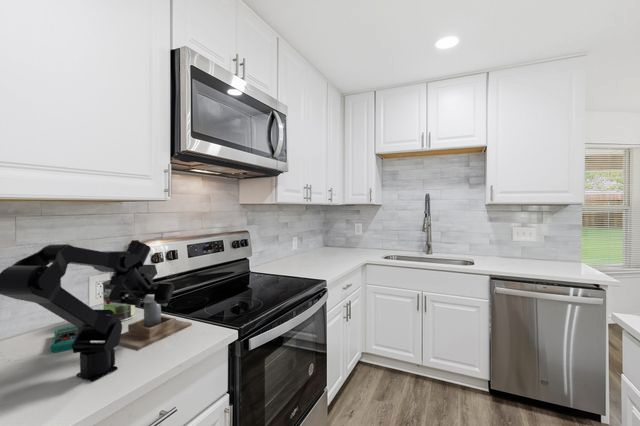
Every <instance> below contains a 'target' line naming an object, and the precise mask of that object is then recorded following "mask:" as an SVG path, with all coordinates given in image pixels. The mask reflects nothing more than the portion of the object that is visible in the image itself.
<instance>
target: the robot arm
mask: <svg viewBox="0 0 640 426" xmlns="http://www.w3.org/2000/svg"><path fill="white" fill-rule="evenodd" d="M150 252H151V247H150V246H149V245H148V244H146V243H144V242H140V240H137V239H136V240H131V241H130V243H129V245H128V248H127V249H126V250H121V251H120V250H119V251H118V250H117V251H116V250H105V251H102V250H100V251H99V250H96V249H89V248H83V247H77V246H74V245H71V244H66V243H65V244H63V243H62V244H61V243H60V244H49V245H46V246H44V247H43V248H41V249H40V250H39V251H37V252H34V253H33V254H31V255H28V256H26V257H24V258H22V259H20V260H18V261H16V262H15V263H14V264H12V265H11V266H8V267H6V268H5V269H3V270H1V272H0V295H1V296H5V297H8V298H11V299H14V300H18V301H19V300H20V301H24V302H31V303H34V304H37V305H39V306H40V307H43V308H44V309H46V310H47V311H49V312H51V313H52V314H54V315H56V316H58V317H59V318H61V319H63V320H65V321H66V322H68V323H70V324H71V325H73V326H76V327H77V333H78V335H77V337H76V339H75V341H74V342H73V344H72V346H71V348H72V349H71V350H72V352H73V354H77V353H79V372H77V373H76V375H75V376H76V377H77V378H80V379H83V380H86V381H89V382H94V381H96V380H98V379H101V378H102V377H103V378H104V377H105V376H106V375H108V374H111V373H112V372H114V371H117V370H118V369H119V366H117V365H116V350H115V349H116V348H117V347H118V346H119V345H120V344H119V341H120V336H121V334H122V331H123V324H122V321H121V320H120V319H119V318H118V317H119V315H116V314H115V313H114V312H113V311H112V310H104V309H94V308H92V307H91V306H89V305H88V304H86V303H85V302H83V301H82V300H80V299H79V298H78V297H76V296H75V295H73V294H72V293H71V292H70V291H68V290H66V289H64V288H63V286H62V278H63V277H64V276H65V274H66V272H67V269H68V265H78V266H79V265H80V266H87V267H91V268H93V270H96V271H99V272H102V273H112V276H111V277H110V279H109V280H110V284H109V285H114V287H113V289H112V290H111V292H110V294H109V300H110V301H111V302H112V303H120V304H127V305H134V306H135V307H141V305H142V303H141V301H140V300H144V298H145V296H146V295H154V301H155V302H157V304H159V305H161V306H163V307H167V306H168V304H169V302H170V301H171V299H172V296H173V294H174V291H175V288H176V286H175V284H174V283H173V282H160V283H158V286H152V285H153V284H154V281H153V280H154V278H155V276H156V275H158V270H157V267H156V264H145V262H146V261H147V258H148V256H149V254H150ZM92 341H93V342H92ZM94 341H95V342H94ZM100 341H101V342H100Z"/></svg>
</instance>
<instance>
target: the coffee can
mask: <svg viewBox="0 0 640 426" xmlns="http://www.w3.org/2000/svg"><path fill="white" fill-rule="evenodd" d="M110 280H111V279H108V280H105V281H103V282H102V290H103V291H102V294H103V296H102V298H103V302H102V303H103V310H112V311H113V312H114V313H115V314H116V315H119V317H118V318H119V319H120V320H121V322H126V321H129V320H131V319H133V318H135V317H136V306H134V305H127V304H120V303H112V302H111V301H110V300H109V294H110V292H111V290H112V289H113V287H114V285H109V284H110ZM134 316H135V317H134Z"/></svg>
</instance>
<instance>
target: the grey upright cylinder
mask: <svg viewBox="0 0 640 426" xmlns="http://www.w3.org/2000/svg"><path fill="white" fill-rule="evenodd" d="M161 306H162V305H159V304H157V302H155V301H154V295H146V296H145V298H144V299H143V319H144V327H149V328H151V327H153V326H156V325H158V324H161V316H162V307H161Z"/></svg>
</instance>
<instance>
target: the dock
mask: <svg viewBox="0 0 640 426" xmlns="http://www.w3.org/2000/svg"><path fill="white" fill-rule="evenodd" d="M192 325H193V323H192V322H190V321H189V322H188V321H184V320H179V319H177V318H176V317H169V316H164V315H161V324H158V325H156V326H153V327H151V328H149V327H144V318H142V319H139V320H137V321H134V322H131V323H129V324H127V329H128V331H124V332H123V333H121V336H120V341H119V345H121V346H125V347H129V348H131V349H137V350H138V351H139V350H142V349H144V348H146V347H148V346H151V345H152V344H154V343H157V342H158V341H159V342H160V341H161V340H163V339H165V338H168V337H169V336H172V335H173V334H176V333H178V332H181V331H182V330H186V328H188V327H191V326H192Z"/></svg>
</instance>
